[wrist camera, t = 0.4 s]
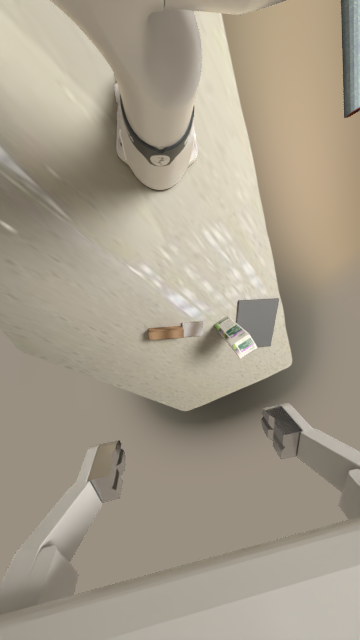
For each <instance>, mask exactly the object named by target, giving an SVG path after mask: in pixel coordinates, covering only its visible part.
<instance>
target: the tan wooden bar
mask: <svg viewBox="0 0 360 640" xmlns="http://www.w3.org/2000/svg"><path fill="white" fill-rule="evenodd" d="M148 333H149V340H156V339H169V338H182V337H190V336H203V321H198V322H183V323H182V326H175V327H160V328H149V332H148Z"/></svg>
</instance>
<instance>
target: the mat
mask: <svg viewBox="0 0 360 640" xmlns="http://www.w3.org/2000/svg"><path fill="white" fill-rule="evenodd" d="M278 302H279V299H278V298H276V299H257V300H239V302H238V312H237V322H236V323H237V324H238V325H239V326H240V327H242V328H243V329H244V330H245V331H247V332H248V333H249V334H250V336H251V338H252V339H253V341H254V343H255V344H256V346H257V347H265V346H271V340H272V335H273V329H274V324H275V319H276V313H277V308H278Z"/></svg>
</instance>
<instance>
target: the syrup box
mask: <svg viewBox="0 0 360 640" xmlns="http://www.w3.org/2000/svg"><path fill="white" fill-rule="evenodd" d="M215 327H216V328H217V330H218V331H219V333H220V334H221V336H222V337H223V338H224V339H225V341H226V342H227V343H228V344H229V345H230V347H231V348H232V349H233V350H234V352H235V353H236V354H237V355H238V357H239V358H240V359H241V358H242V357H244V356H245V355H247V354H249V353H250V352H252V351H253V350H255V349H257V346H256V344H255V343H254V341H253V339H252V338H251V336H250V334H249V333H248V332H247V331H245V330H244V329H243V328H242V327H240V326H239V325H238V324H237V323H236V322H234V321H233V320H232V319H231V318H230V317H229V316H227V317H226V318H224V319H223V320H221V321H220V322H218V323H217V324H215Z"/></svg>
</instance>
